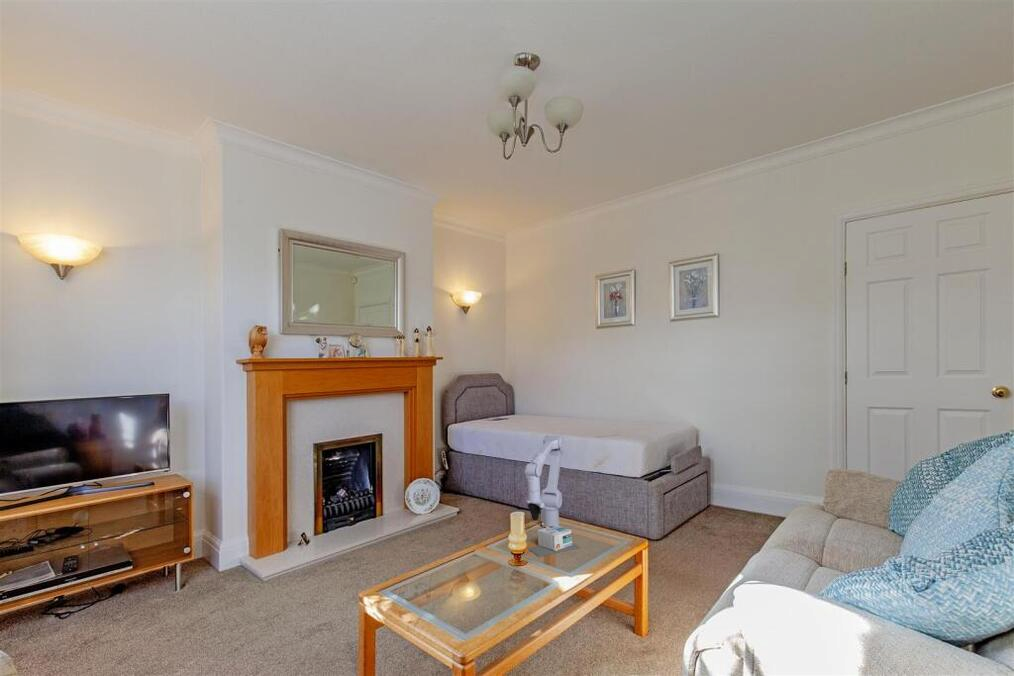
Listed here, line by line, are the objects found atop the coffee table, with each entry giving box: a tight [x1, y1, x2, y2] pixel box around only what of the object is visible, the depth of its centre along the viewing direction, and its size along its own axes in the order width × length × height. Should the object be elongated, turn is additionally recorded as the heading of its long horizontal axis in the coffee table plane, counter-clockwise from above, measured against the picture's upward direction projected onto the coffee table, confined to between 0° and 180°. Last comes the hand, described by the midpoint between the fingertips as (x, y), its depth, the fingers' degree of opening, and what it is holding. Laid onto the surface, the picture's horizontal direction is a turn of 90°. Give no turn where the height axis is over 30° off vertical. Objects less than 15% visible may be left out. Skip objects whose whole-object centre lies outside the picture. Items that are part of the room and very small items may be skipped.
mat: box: [527, 542, 581, 558], centre depth 206 cm, size 11×20×1 cm, turn 115°
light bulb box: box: [537, 525, 573, 551], centre depth 209 cm, size 11×7×11 cm
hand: (535, 520), depth 221 cm, fingers closed
